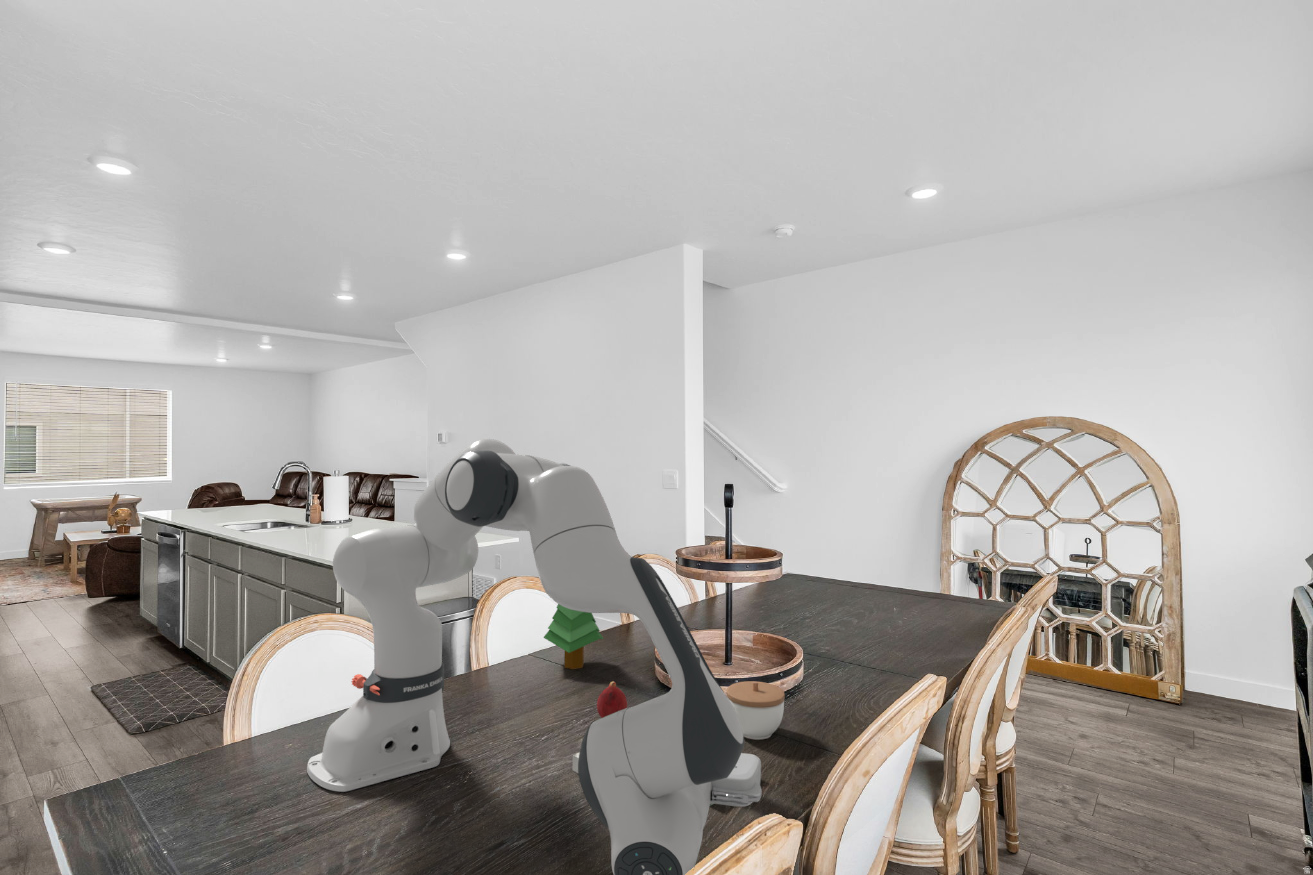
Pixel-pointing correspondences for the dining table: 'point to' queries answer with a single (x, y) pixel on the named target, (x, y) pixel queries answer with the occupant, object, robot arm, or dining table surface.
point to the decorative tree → (572, 634)
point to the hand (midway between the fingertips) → (691, 743)
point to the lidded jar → (757, 707)
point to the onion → (611, 700)
